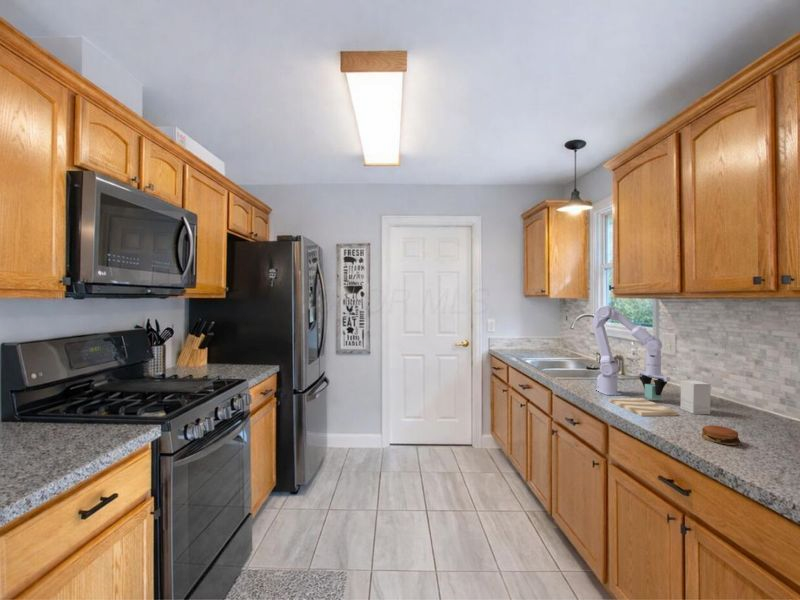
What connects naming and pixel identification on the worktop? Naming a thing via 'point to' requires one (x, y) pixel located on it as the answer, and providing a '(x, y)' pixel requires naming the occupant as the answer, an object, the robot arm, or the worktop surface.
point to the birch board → (644, 407)
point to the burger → (720, 435)
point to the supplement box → (695, 397)
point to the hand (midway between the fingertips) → (652, 393)
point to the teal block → (651, 391)
